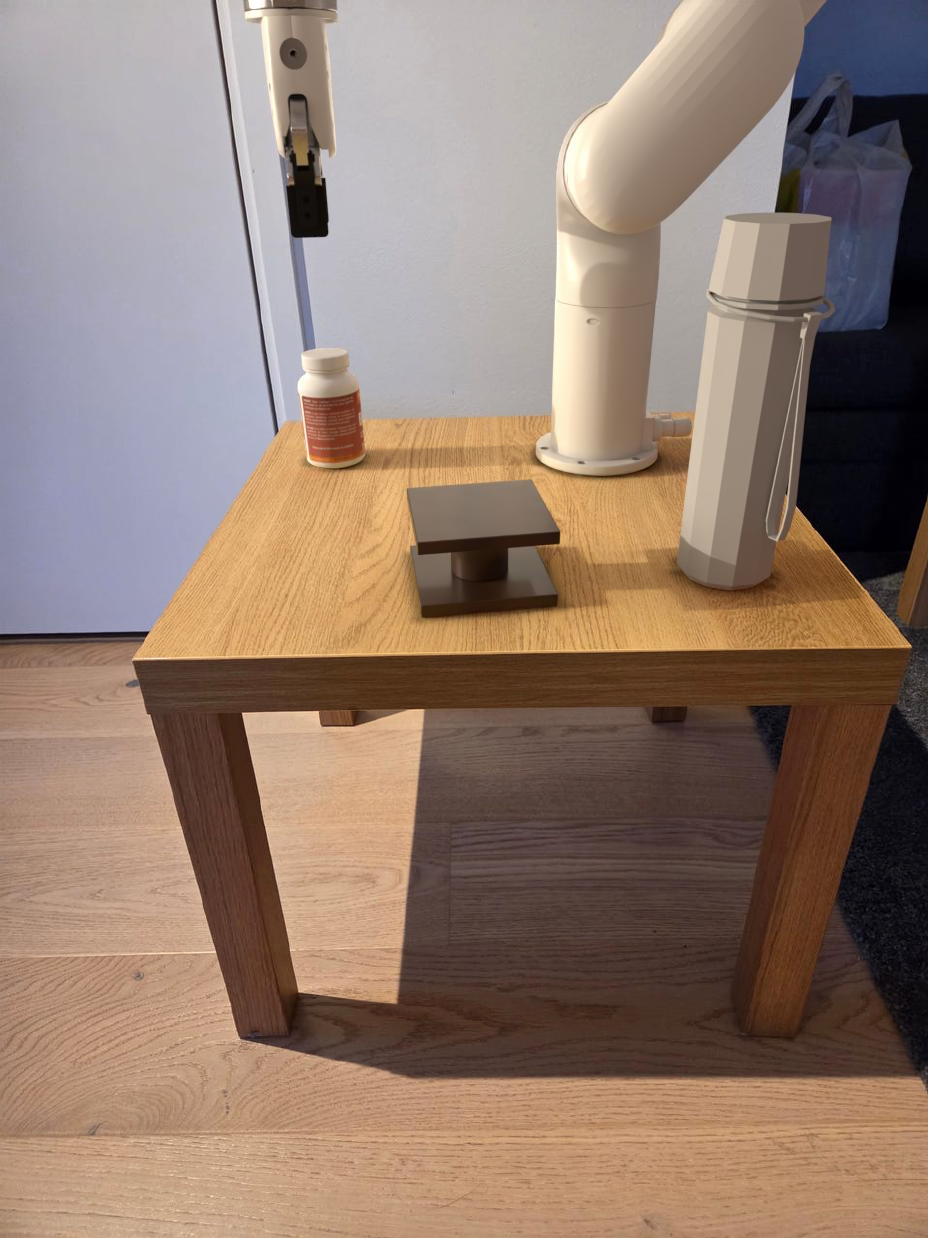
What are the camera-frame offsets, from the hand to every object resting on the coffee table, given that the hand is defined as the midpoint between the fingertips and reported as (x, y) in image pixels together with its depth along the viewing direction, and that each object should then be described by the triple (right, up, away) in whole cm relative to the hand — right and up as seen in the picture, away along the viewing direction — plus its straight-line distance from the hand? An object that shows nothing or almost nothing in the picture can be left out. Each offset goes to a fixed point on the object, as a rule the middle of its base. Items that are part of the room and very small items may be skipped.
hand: (311, 230), depth 77 cm
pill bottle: (0, -19, +12) cm, 22 cm away
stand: (+15, -33, -12) cm, 38 cm away
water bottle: (+34, -33, -12) cm, 49 cm away
